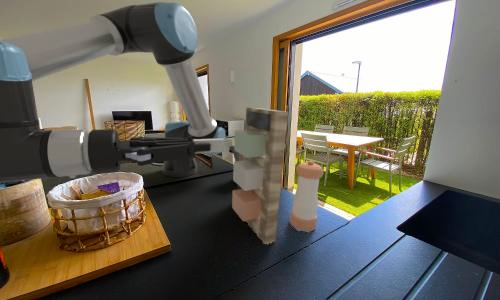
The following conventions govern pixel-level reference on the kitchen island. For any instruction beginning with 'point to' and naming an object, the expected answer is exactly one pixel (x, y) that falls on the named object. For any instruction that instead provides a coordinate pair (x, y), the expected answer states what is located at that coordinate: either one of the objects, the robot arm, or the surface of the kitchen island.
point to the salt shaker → (306, 196)
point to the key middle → (248, 174)
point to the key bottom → (246, 204)
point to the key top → (250, 143)
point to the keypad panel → (268, 167)
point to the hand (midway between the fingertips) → (223, 144)
